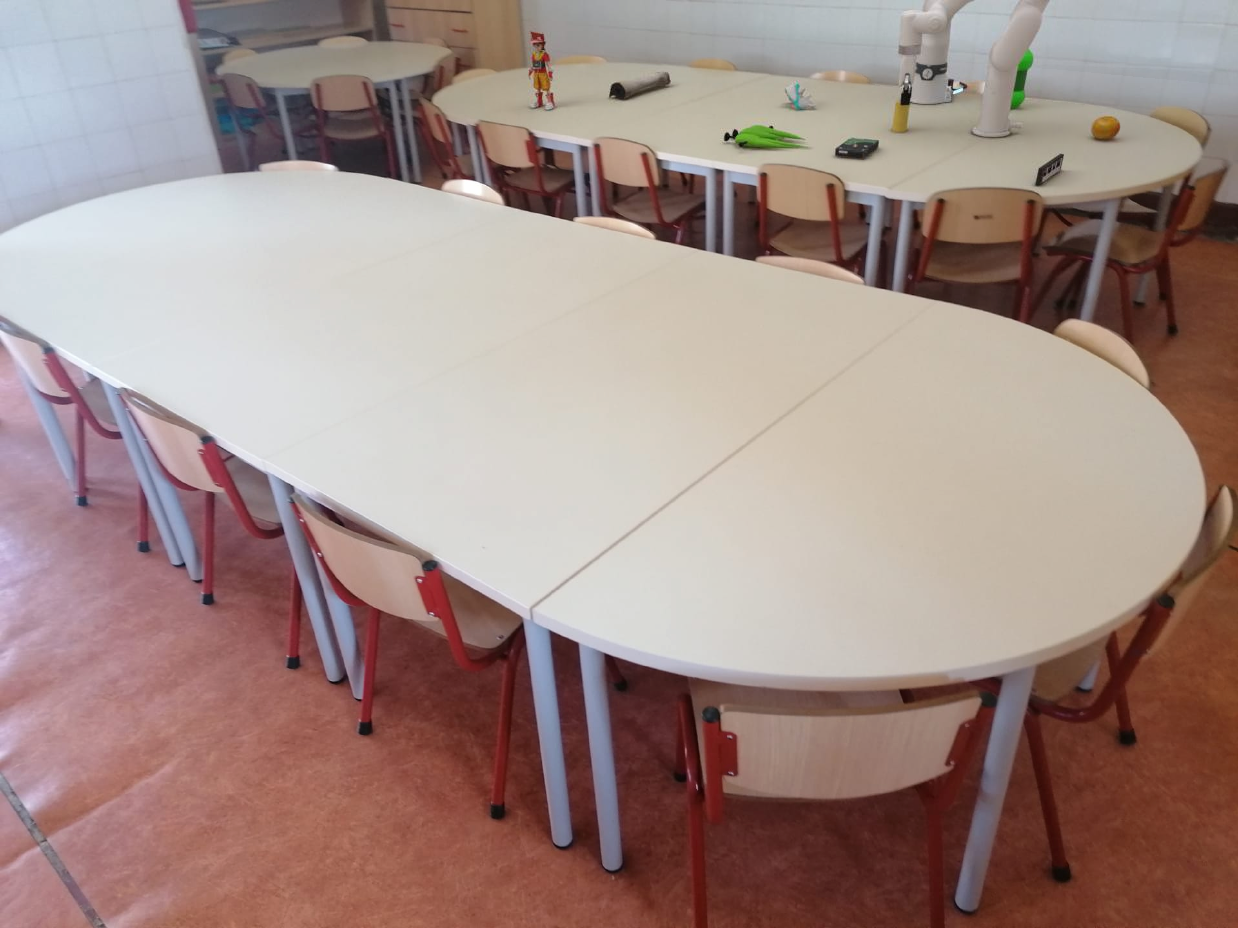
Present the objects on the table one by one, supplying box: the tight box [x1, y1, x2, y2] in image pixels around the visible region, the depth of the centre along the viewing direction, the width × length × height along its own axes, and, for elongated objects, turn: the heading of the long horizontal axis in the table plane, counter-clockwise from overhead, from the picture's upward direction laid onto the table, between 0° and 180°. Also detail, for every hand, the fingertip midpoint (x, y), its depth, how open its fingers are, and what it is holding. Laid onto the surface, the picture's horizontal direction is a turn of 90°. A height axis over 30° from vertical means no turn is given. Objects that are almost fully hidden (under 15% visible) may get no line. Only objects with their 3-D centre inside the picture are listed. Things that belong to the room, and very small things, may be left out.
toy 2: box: [723, 124, 807, 148], centre depth 319 cm, size 28×5×30 cm
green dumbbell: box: [1010, 48, 1034, 110], centre depth 337 cm, size 10×10×25 cm
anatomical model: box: [784, 80, 816, 111], centre depth 360 cm, size 15×10×10 cm
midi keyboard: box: [1035, 153, 1065, 186], centre depth 273 cm, size 18×1×5 cm, turn 138°
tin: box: [891, 99, 910, 133], centre depth 323 cm, size 5×5×10 cm
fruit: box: [1090, 115, 1121, 141], centre depth 303 cm, size 8×8×8 cm
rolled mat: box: [608, 71, 672, 101], centre depth 395 cm, size 30×9×10 cm
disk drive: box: [834, 137, 880, 159], centre depth 305 cm, size 10×3×15 cm
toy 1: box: [527, 31, 556, 111], centre depth 374 cm, size 12×9×30 cm
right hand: (905, 101), depth 320 cm, fingers open, 9 cm apart
